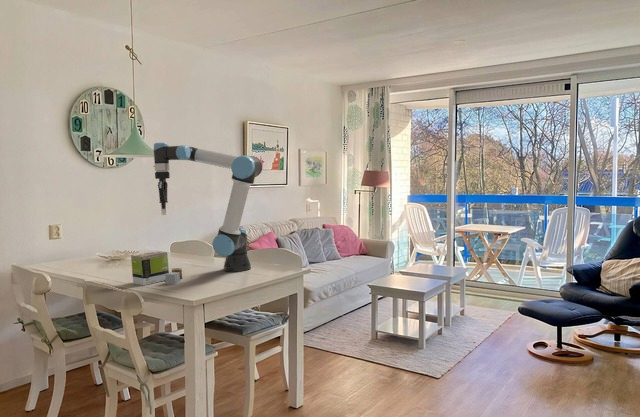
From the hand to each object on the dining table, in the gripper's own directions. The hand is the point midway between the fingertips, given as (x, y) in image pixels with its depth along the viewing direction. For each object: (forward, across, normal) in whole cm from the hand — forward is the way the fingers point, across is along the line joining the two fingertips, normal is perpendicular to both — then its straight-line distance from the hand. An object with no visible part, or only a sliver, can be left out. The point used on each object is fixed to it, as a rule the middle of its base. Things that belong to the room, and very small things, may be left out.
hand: (164, 214), depth 266 cm
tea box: (+33, +20, -4) cm, 38 cm away
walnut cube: (+33, +15, +8) cm, 37 cm away
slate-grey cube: (+33, +26, +8) cm, 42 cm away
